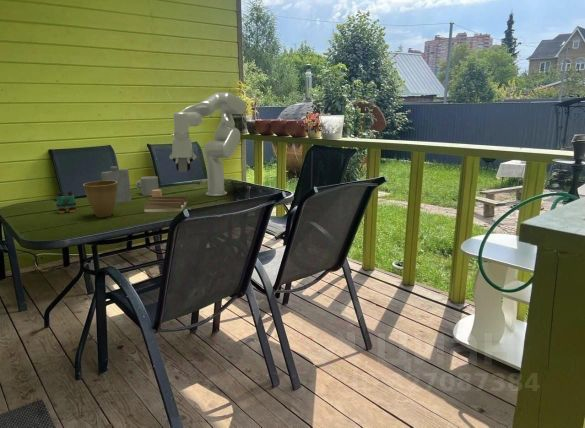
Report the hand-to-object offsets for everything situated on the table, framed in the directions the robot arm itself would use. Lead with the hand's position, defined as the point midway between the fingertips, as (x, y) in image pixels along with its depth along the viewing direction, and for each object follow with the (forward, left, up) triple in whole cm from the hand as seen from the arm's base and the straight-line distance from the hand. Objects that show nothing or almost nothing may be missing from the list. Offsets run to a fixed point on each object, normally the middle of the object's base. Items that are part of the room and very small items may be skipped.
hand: (183, 170), depth 234 cm
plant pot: (+26, -35, -18) cm, 47 cm away
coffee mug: (-29, -28, -18) cm, 44 cm away
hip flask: (-4, -38, -18) cm, 42 cm away
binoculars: (+15, -57, -18) cm, 61 cm away
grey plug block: (0, 0, -1) cm, 1 cm away
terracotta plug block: (-2, -16, -18) cm, 24 cm away
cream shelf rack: (+12, -8, -18) cm, 23 cm away
